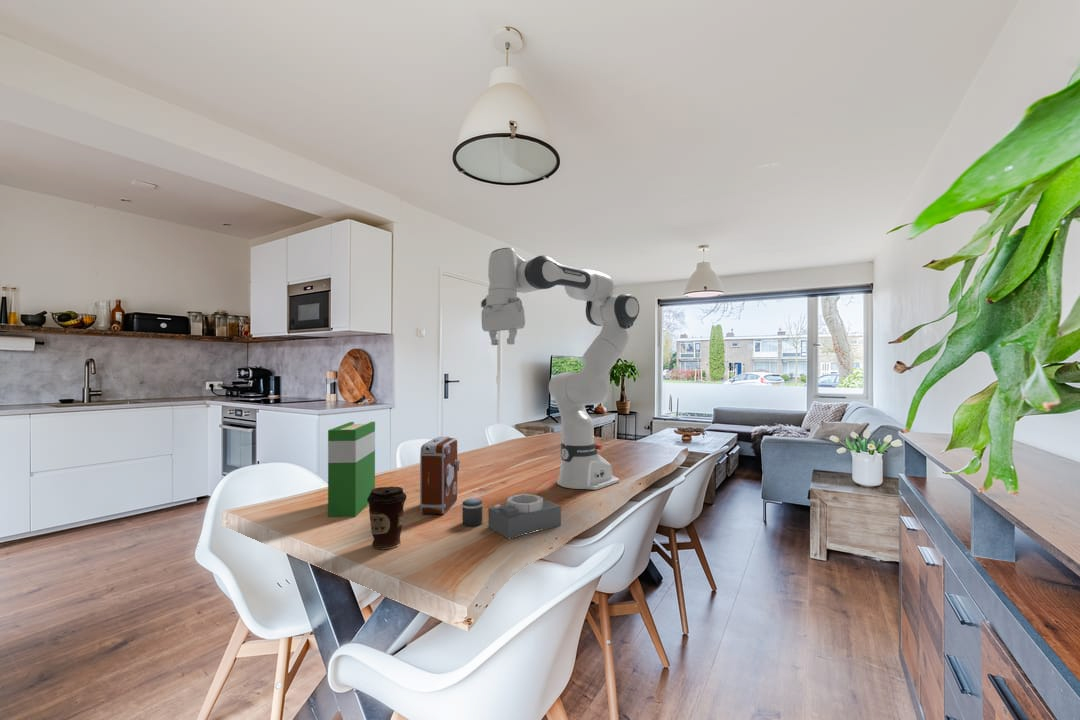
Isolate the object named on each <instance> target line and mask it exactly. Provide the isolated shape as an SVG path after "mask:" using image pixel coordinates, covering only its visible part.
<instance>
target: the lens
mask: <svg viewBox="0 0 1080 720" xmlns="http://www.w3.org/2000/svg"><path fill="white" fill-rule="evenodd" d="M461 506H462V525H463V526H464V527H468V528H474V527H475V528H476V527H480V526H481V525H483V501H482V500H481V499H479V498H467V499H465V500H463V501H462V504H461Z"/></svg>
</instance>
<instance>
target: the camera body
mask: <svg viewBox="0 0 1080 720" xmlns="http://www.w3.org/2000/svg"><path fill="white" fill-rule="evenodd" d="M487 516H488V519H487V520H488V525H487V526H488V528H489V529H491V530H493V531H495V532H496V533H498V534H499V533H500V535H501V534H502V535H501V536H503V537H505V536H506V537H507V538H506V537H505V538H506V539H508V538H512V537H515V536H518V535H522V534H525V533H530V532H533V531H536V530H541V529H545V528H549V529H551V528H550V527H552V528H555V527H554V526H556V527H559V526H562V506H561V505H559V504H557V503H554V502H553V501H550V500H547V499H545V498H543V497H542V496H539V495H537V494H530V493H521V494H520V493H519V494H515V495H510V496H509V497H508V498H506V503H504V504H494V506H489V507H488V515H487ZM545 530H546V529H545ZM541 531H542V530H541ZM530 534H531V533H530ZM515 538H516V537H515ZM512 539H513V538H512Z"/></svg>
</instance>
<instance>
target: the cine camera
mask: <svg viewBox="0 0 1080 720" xmlns="http://www.w3.org/2000/svg"><path fill="white" fill-rule="evenodd" d="M419 457H420V458H419V462H420V463H419V465H420V467H419V469H420V471H419V472H420V473H419V474H420V478H419V479H420V481H419V483H420V484H419V486H420V490H419V493H420V495H419V496H420V498H419V499H420V501H419V502H420V503H419V504H420V505H419V506H420V513H421V514H423V515H424V514H428V515H444V514H446V513H448V511H449V510H450V509H451V508H452V507H453V505H455V503H457V500H458V472H459V471H460V463H461V461H460V460H458V440H457V438H455V437H450V436H438V437H434V438H433V439H431V440H428V441H427V442H425V443H423V444H422V445H421V447H420V456H419Z"/></svg>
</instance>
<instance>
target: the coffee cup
mask: <svg viewBox="0 0 1080 720" xmlns="http://www.w3.org/2000/svg"><path fill="white" fill-rule="evenodd" d="M407 497H408V496H407V494H406V493H405V492H404V488H402V487H401V486H380V487H379V486H378V487H375V489H372V490H371V493H370V495H369V497H368V498H367V501H368V502H369V504H368V507H369V508H368V513H369V521H370V533H371V535H372V537H373V539H372V543H371V546H372V547H373V548H374V549H378V550H388V549H394V548H398V547H399V546H400V545H401V544H402V541H401V533H402V528H403V520H404V505H405V502H406V501H407Z"/></svg>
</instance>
